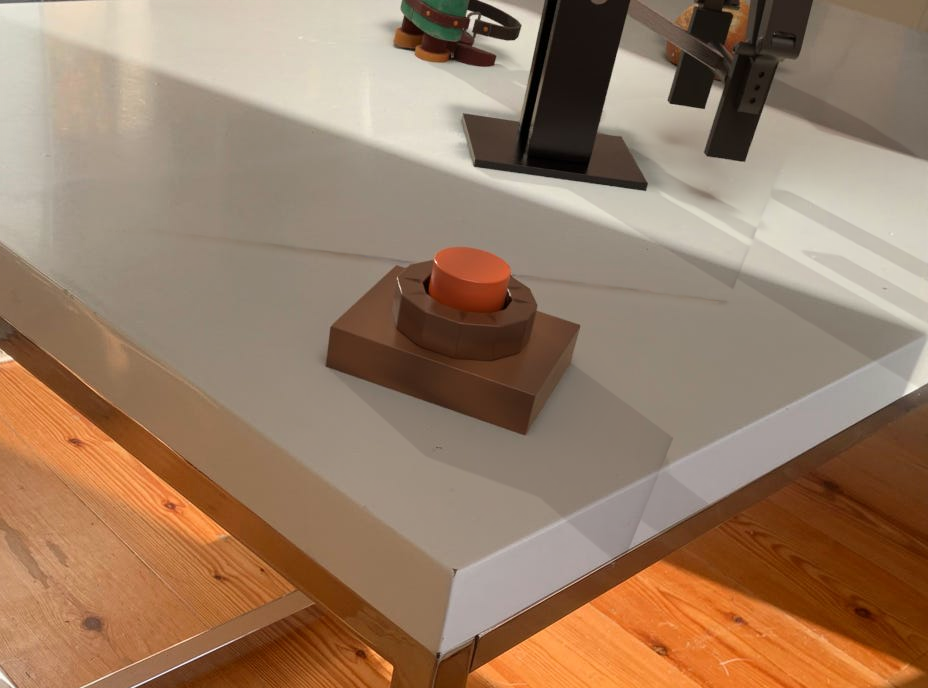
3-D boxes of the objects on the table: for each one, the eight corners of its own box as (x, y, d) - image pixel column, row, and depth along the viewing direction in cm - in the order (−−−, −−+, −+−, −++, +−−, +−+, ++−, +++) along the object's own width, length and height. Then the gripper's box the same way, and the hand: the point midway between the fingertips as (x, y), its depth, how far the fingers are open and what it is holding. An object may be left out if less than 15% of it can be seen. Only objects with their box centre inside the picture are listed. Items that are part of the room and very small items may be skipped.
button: (513, 295, 54) (521, 261, 53) (489, 325, 51) (497, 289, 50) (443, 273, 54) (449, 239, 53) (416, 301, 51) (422, 265, 50)
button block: (570, 363, 57) (590, 291, 54) (525, 436, 51) (544, 359, 48) (390, 303, 59) (401, 231, 56) (325, 367, 53) (334, 289, 50)
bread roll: (697, 86, 115) (689, 1, 112) (796, 71, 109) (790, -20, 106) (654, 102, 108) (644, 11, 105) (756, 86, 102) (749, -11, 99)
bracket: (617, 152, 84) (671, -51, 75) (643, 200, 77) (706, -17, 68) (459, 129, 82) (496, -83, 73) (471, 176, 75) (514, -51, 66)
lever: (710, 73, 79) (731, 42, 78) (734, 101, 74) (757, 68, 73) (555, -25, 74) (575, -61, 73) (570, -1, 70) (592, -39, 68)
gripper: (712, -284, 73) (620, 71, 86) (830, -253, 55) (693, 184, 69) (819, -260, 74) (712, 86, 88) (967, -223, 57) (805, 200, 71)
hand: (704, 129), depth 79 cm, fingers open, 10 cm apart
